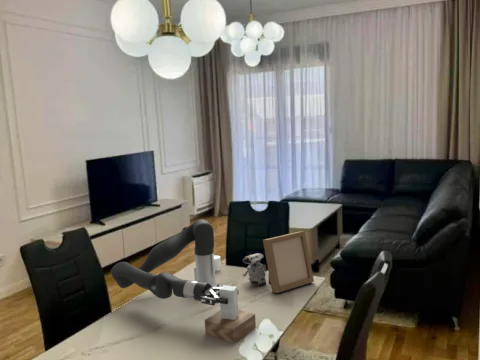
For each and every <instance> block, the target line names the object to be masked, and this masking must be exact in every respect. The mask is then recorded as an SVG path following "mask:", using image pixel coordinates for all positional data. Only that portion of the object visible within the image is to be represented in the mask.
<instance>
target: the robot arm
mask: <svg viewBox="0 0 480 360" xmlns="http://www.w3.org/2000/svg"><path fill="white" fill-rule="evenodd" d="M193 242H194V261H195V268H194V269H193V270H194V271H193V272H194V280H187V279H182V278H180V277H177V276H176V275H173V274H172V273H169V272H167V271H165V272H160V273H158V274H155V273H152V271H154V270H155V269H157V268H159V267H160V266H162V265H164V264H165V263H167V262H170V261H171V260H172V259H174V258H176V257H177V256H178V255H179V254H180V253H181V252H182V251H183V250H184V249H185V248H186V247H187V246H188V245H189V244H191V243H193ZM214 248H215V234H214V228H213V225H211V223H210V222H209V221H208V220H206V219H204V218H203V219H197V220H195V221H194V222H192V223H191V224H189V225H188V227H186V228H185V229H183V230H182V231H181V232H178V233H177V234H175V235H173V236H171V237H169V238H167V239H166V240H164V241H162V242H160V243H159V244H157V245H155V246H154V247H152V248H151V250H150V252H149V253H148V255H147V256H146V258H145V260H144V261H143V263H142V264H141V265H139V267H138V268H137V267H136V266H134V265H132V264H130V263H129V262H127V261H120V262H117V263H116V264H114V266H113V267H112V268H111V270H110V274H111V277H112V278H113V280H114V281H115V282H116V284H117V285H118V286H119V287H120V288H121V289H126V288H129V287H131V286H132V285H133V284H135V285H136V286H138V287H140V288H142V289H144V290H147V291H149V292H151V293H152V294H153V295H154V296H155V297H157V298H159V299H162V300H163V299H164V300H165V299H169V298H170V297H171V296H172V294H173V295H174V296H175V297H179V298H183V299H188V300H191V301H196V302H200V303H201V304H204V305H209V306H215V305H217V304H220V303H221V304H228V298H223V297H220V292H219V289H220V288H221V287H222V286H223V285H224V286H232V285H231V284H230V285H229V284H223V283H218V284H216V282H217V281H216V271H215V264H214V255H215V254H214V253H215V252H214V251H215V249H214ZM237 293H238V295H239V289H237Z"/></svg>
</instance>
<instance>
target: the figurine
mask: <svg viewBox="0 0 480 360" xmlns="http://www.w3.org/2000/svg"><path fill="white" fill-rule="evenodd" d="M262 259H264V254H262V253H258V252H257V253H254V254H252V253H249V255H246V256H244V257H243V259H242V262H243V264H248V266H247V267H246V269H247V270H246V271H244V273H243V274H242V276H243V277H246V276H247V275H248V276H249V278H248V280H249V281H250V282H257V286H258V287H263V286H266V285H267V279H266V272H267V271H268V269H267V264H264V263H261V261H262Z"/></svg>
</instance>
